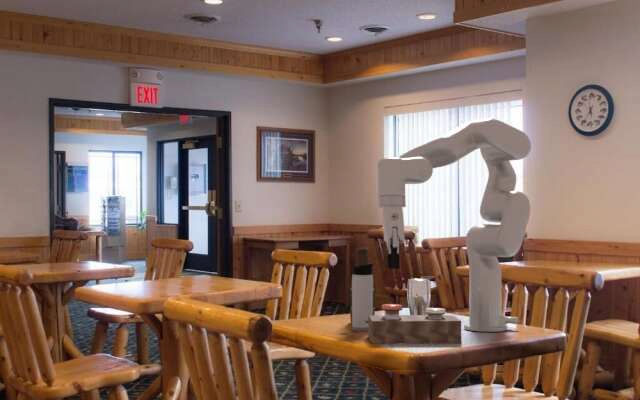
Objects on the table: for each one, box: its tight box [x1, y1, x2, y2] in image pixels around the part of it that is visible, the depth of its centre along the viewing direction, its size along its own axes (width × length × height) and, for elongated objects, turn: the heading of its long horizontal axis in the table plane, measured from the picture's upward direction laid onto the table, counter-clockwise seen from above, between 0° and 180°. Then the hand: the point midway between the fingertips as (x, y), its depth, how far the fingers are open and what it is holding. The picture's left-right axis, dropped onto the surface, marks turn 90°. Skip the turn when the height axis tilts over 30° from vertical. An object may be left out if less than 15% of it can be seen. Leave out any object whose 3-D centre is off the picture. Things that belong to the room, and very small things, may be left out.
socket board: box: [367, 314, 462, 345], centre depth 210 cm, size 24×12×6 cm, turn 91°
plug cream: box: [425, 307, 446, 319], centre depth 210 cm, size 6×6×8 cm
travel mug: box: [351, 262, 375, 332], centre depth 228 cm, size 6×7×20 cm
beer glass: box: [406, 278, 431, 315], centre depth 229 cm, size 7×7×15 cm
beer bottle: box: [349, 247, 376, 324], centre depth 243 cm, size 8×8×24 cm
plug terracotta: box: [381, 303, 403, 319], centre depth 210 cm, size 6×6×8 cm
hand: (393, 268), depth 210 cm, fingers closed
